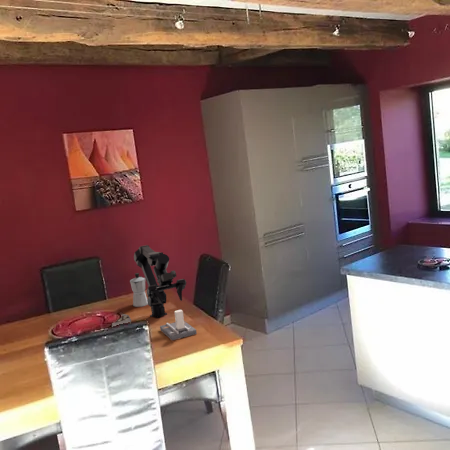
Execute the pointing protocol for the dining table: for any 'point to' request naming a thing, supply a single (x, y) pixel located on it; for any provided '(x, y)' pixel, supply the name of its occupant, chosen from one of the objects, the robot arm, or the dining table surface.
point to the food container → (122, 320)
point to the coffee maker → (138, 291)
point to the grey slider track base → (174, 334)
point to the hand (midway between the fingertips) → (172, 302)
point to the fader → (179, 320)
